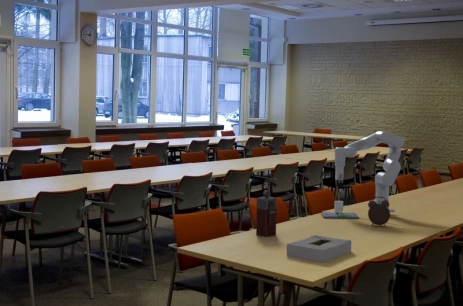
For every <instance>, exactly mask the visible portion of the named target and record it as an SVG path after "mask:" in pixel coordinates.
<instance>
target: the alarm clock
mask: <svg viewBox="0 0 463 306" xmlns="http://www.w3.org/2000/svg"><path fill="white" fill-rule="evenodd" d="M375 198H384V197H375V196H374V197H373V198H372V200H371V199H369V202H367V206H368V211H367V217H368V219H369V221H370V222H371V226H375V225H376V226H383V225H384V227H386V224H388V222H389V221H390V218H391V212H389V209H390V202H389V200H387V201H386V199H385V198H384V199H385V200H384V201H382V202H381V204H379V203H378V204H377V203H376V202H375ZM378 202H380V201H378ZM387 207H388V208H389V209H388V208H387Z"/></svg>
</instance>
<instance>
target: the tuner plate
mask: <svg viewBox="0 0 463 306" xmlns="http://www.w3.org/2000/svg"><path fill="white" fill-rule="evenodd" d="M320 215H321V217H322V218H323V219H331V220H332V219H338V220H339V219H341V220H343V219H345V220H349V219H352V220H359V219H360V217H359V215H358V214H357V213H356V212H342V213H341V214H338V213H335V212H327V211H326V212H321V213H320Z"/></svg>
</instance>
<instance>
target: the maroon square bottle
mask: <svg viewBox="0 0 463 306" xmlns="http://www.w3.org/2000/svg"><path fill="white" fill-rule="evenodd" d="M262 194H263V195H262V196H260V197H257V198H256V218H255V219H256V220H255V222H256V225H255V226H256V227H255V228H256V229H255V235H256V236H260V237H265V238H269V237H273V236H277V205H278V204H277V203H278V202H277V201H278V199H277V197H273V196H271V191H270V190H267V189H265V190H264V191H263V193H262Z"/></svg>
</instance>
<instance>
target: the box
mask: <svg viewBox="0 0 463 306" xmlns="http://www.w3.org/2000/svg"><path fill="white" fill-rule="evenodd" d="M351 252H352V240H351V239H345V238H344V239H342V238H338V237H332V236H331V237H330V236H323V235H319V234H313V235H310V236H309V237H307V238H304V239H301V240H297V241H293V242H289V243H287V244H286V257H289V258H295V259H301V260H306V261H311V262H317V263H322V264H325V263H327V262H330V261H332V260H334V259H337V258H339V257H342V256H344V255H346V254H347V255H348V254H349V253H351Z"/></svg>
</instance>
